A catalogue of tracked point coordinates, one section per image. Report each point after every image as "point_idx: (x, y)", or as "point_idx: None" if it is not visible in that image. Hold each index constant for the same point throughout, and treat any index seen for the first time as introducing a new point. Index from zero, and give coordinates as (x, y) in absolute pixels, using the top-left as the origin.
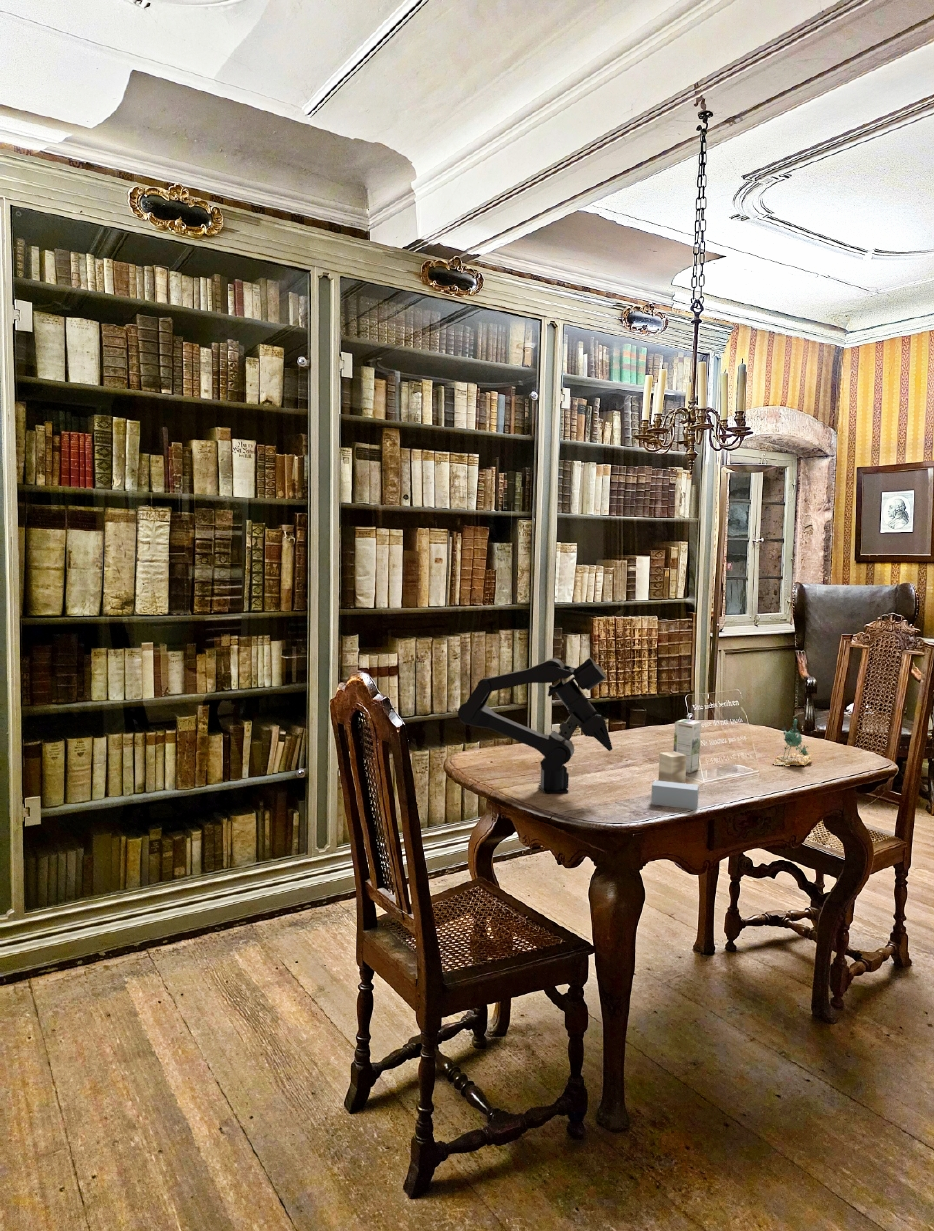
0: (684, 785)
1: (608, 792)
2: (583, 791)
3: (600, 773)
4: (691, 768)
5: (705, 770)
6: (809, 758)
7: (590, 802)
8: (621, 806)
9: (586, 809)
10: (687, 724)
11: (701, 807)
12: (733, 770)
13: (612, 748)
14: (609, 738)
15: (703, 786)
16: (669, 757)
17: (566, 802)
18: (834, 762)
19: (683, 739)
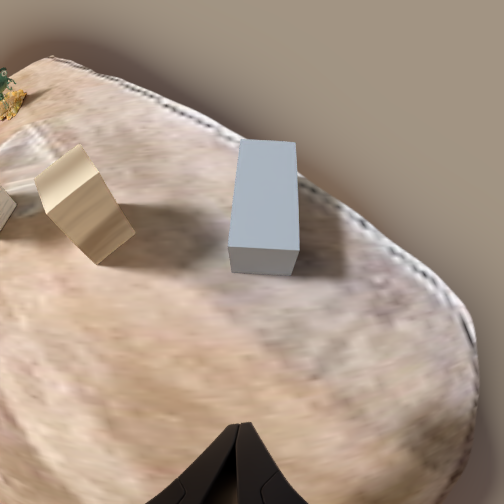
0: (260, 166)
1: (209, 412)
2: None
3: (26, 418)
4: (11, 198)
5: (7, 184)
6: (14, 92)
7: (343, 445)
8: (349, 353)
9: (409, 433)
10: None
11: None
12: (17, 149)
13: (250, 422)
14: (272, 461)
15: None
16: (91, 182)
17: (364, 498)
18: (22, 83)
19: None
